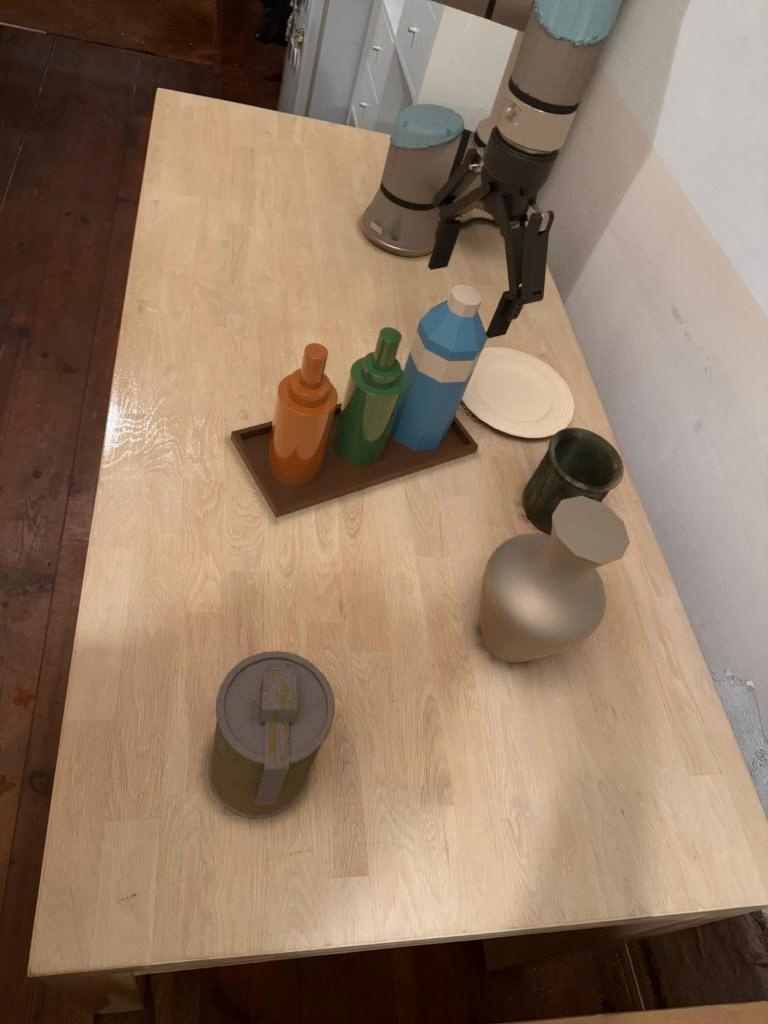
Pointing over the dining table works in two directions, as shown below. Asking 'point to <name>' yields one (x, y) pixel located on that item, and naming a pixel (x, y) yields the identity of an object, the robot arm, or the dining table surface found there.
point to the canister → (268, 732)
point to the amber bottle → (302, 420)
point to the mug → (571, 474)
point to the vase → (550, 583)
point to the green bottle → (370, 402)
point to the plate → (518, 394)
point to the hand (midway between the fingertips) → (465, 299)
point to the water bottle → (439, 369)
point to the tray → (342, 466)
